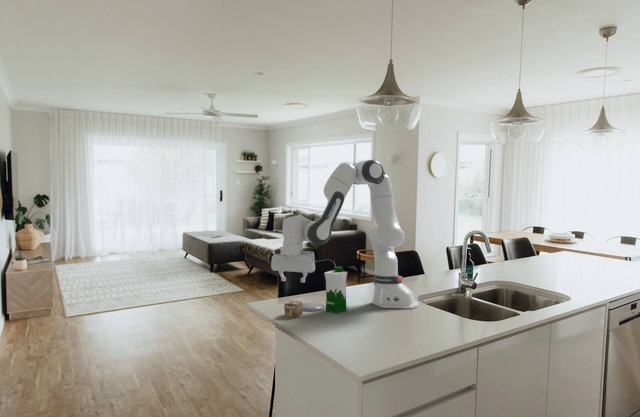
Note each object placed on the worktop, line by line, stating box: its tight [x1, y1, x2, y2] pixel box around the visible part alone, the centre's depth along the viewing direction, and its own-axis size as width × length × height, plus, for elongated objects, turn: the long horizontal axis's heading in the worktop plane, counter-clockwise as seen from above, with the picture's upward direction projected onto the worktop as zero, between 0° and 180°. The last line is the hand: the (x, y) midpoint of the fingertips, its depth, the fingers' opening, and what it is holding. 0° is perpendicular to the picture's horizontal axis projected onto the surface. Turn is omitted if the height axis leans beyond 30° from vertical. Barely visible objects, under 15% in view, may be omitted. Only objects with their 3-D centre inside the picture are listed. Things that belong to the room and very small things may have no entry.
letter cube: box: [284, 300, 304, 319], centre depth 186 cm, size 6×6×6 cm
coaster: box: [303, 302, 326, 312], centre depth 199 cm, size 13×13×1 cm
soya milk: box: [323, 265, 348, 314], centre depth 193 cm, size 9×9×20 cm
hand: (293, 281), depth 186 cm, fingers open, 8 cm apart
